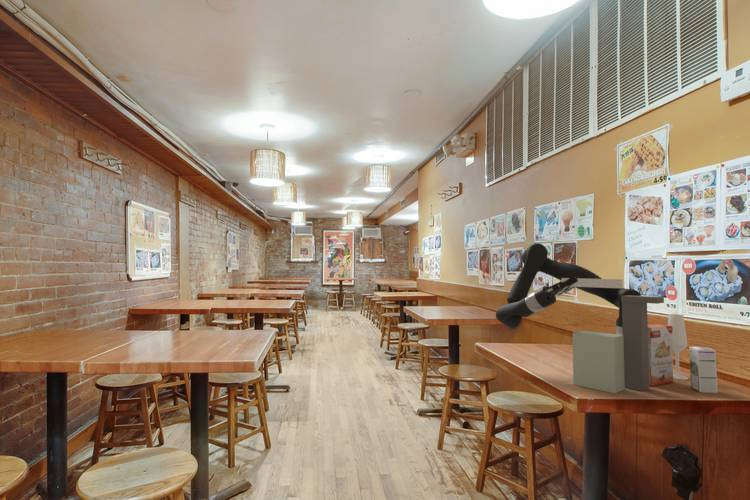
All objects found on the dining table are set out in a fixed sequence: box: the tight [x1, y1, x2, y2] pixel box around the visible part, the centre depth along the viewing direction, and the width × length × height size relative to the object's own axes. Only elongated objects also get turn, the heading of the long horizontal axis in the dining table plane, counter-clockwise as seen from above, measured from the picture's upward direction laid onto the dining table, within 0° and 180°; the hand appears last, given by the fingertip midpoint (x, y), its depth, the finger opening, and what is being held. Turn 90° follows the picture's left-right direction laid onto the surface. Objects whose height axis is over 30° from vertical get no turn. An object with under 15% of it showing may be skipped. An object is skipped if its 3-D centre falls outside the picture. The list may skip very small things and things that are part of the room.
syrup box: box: [688, 346, 719, 394], centre depth 145 cm, size 6×6×14 cm
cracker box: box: [648, 323, 674, 387], centre depth 155 cm, size 14×6×21 cm, turn 117°
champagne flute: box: [667, 313, 689, 381], centre depth 163 cm, size 7×7×24 cm
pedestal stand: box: [621, 295, 665, 392], centre depth 146 cm, size 11×7×32 cm, turn 40°
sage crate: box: [572, 330, 626, 394], centre depth 149 cm, size 14×8×18 cm, turn 40°
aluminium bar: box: [560, 278, 624, 288], centre depth 152 cm, size 20×3×3 cm, turn 40°
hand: (578, 278), depth 155 cm, fingers closed on aluminium bar, 3 cm apart
